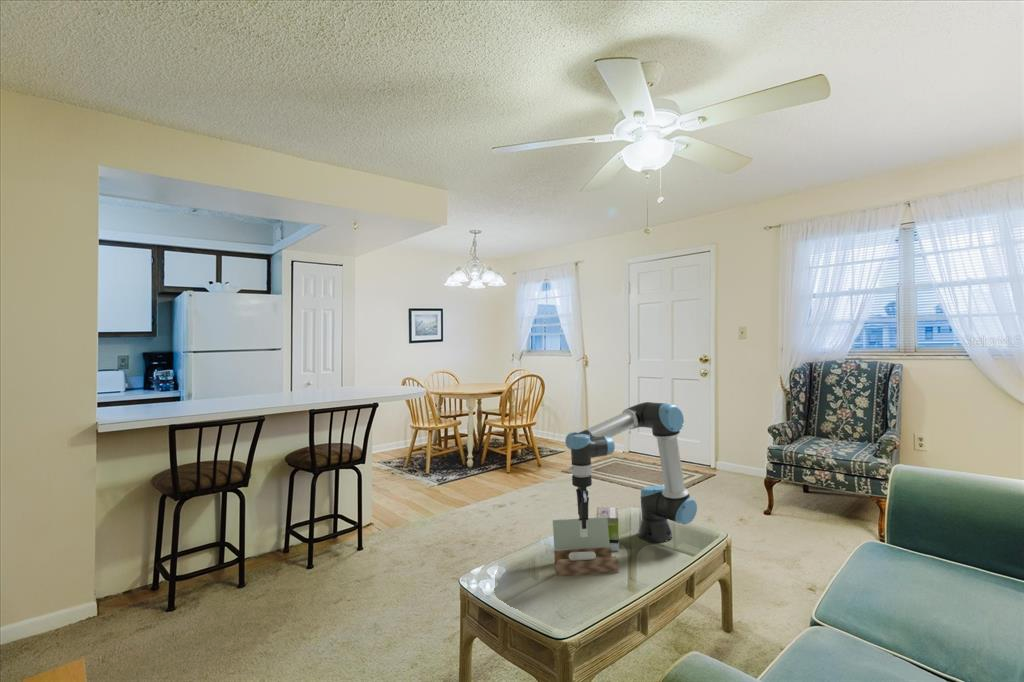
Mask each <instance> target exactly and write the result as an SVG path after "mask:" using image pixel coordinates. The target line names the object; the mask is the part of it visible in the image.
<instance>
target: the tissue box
mask: <svg viewBox="0 0 1024 682" xmlns="http://www.w3.org/2000/svg"><path fill="white" fill-rule="evenodd" d="M589 551H593V552H595V554H596V558H595V559H593V560H576V561H571V560H570V559H569V554H570V553H572V552H589ZM553 552H554V554H553V555H554V565H555V568H556V572H557V575H558V576H559V577H565V576H566V577H567V576H569V577H570V576H582V575H583V576H584V575H585V576H586V575H597V574H598V575H599V574H613V573H614V574H615V573H619V559H618V557H617V556H616V555H613V556H612V551H611V548H610V547H605V548H584V549H567V550H553Z"/></svg>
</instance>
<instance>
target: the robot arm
mask: <svg viewBox="0 0 1024 682" xmlns="http://www.w3.org/2000/svg"><path fill="white" fill-rule="evenodd" d="M684 419H685V418H684V414H683V412H682V410H681V408H679V407H678V406H677V405H675V404H671V403H667V402H664V403H663V402H652V401H651V402H650V401H647V402H645V401H644V402H641V403H637V404H635V405H633V406H630V407H628V408H625V409H624V410H623V411H622V412H621V413H619V414H618V415H615V416H614V417H611V418H609V419H607V420H604V421H602V422H600V423H598V424H595V425H593V426H590V427H588V428H586V429H584V430H582V431H579V432H577V431H576V432H575V431H574V432H569V433H568V434H567V435H566V437H565V445H566V448H568V450H570V456H571V457H570V458H571V466H570V468H569V469H570V470H571V474H572V476H571V481H572V483H571V484H572V486H574V487H576V488H575V489H576V490H575V492H576V499H577V514H578V517H579V518H578V519H579V521H580V537H588V532H587V520H588V518H589V501H590V500H589V499H590V497H589V490H588V489H587V488H588V487H591V486H592V484H593V481H592V479H593V478H592V459H593V458H600V457H606V456H609V455H611V454H613V453H614V451H615V448H616V447H615V442H614V440H613V437H615V436H617V435H619V434H621V433H623V432H625V431H627V430H635V429H638V428H648V429H651V432H652V433H651V434H652V436H653V437H654V438H656V441H657V447H658V455H659V460H660V461H659V462H660V465H661V467H660V468H661V472H662V478H663V485H649V486H644V487H642V488H641V490H640V506H641V507H640V509H641V521H640V525H639V528H638V537H639V538H640V539H642V540H645V541H646V542H652V543H663V541H665V542H667V541H666V540H669V539H671V537H672V538H673V532H672V528H671V527H670V523H669V521H672V522H674V523H677V524H681V525H688V524H691V523H692V522H693V520H694V519H695V517H696V515H697V512H698V505H697V501H696V500H695V499H694V498H692V497H691V496H690V492H689V491H690V490H688V489H687V488H686V487H685V481H684V473H683V468H682V461H681V455H680V448H679V442H678V436H679V435H680V433H681V430H682V429H683V426H684V425H683V424H684V423H685V422H684V421H685V420H684ZM668 520H669V521H668ZM671 540H672V539H671ZM669 541H670V540H669Z"/></svg>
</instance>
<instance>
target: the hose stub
mask: <svg viewBox="0 0 1024 682" xmlns="http://www.w3.org/2000/svg"><path fill="white" fill-rule="evenodd" d="M595 558H596V554H595V552H593V551H589V552H572V553H570V554H569V559H570V560H571V561H576V560H593V559H595Z"/></svg>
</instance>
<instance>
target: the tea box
mask: <svg viewBox="0 0 1024 682" xmlns="http://www.w3.org/2000/svg"><path fill="white" fill-rule="evenodd" d="M598 517H607V519H608V531H609V543H610V548H611V552H619V551H620V522H619V520H620V519H619V508H618V507H607V506H606V507H603V506H602V507H601V506H599V507H597V509H596V518H598ZM601 548H605V547H601Z"/></svg>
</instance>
